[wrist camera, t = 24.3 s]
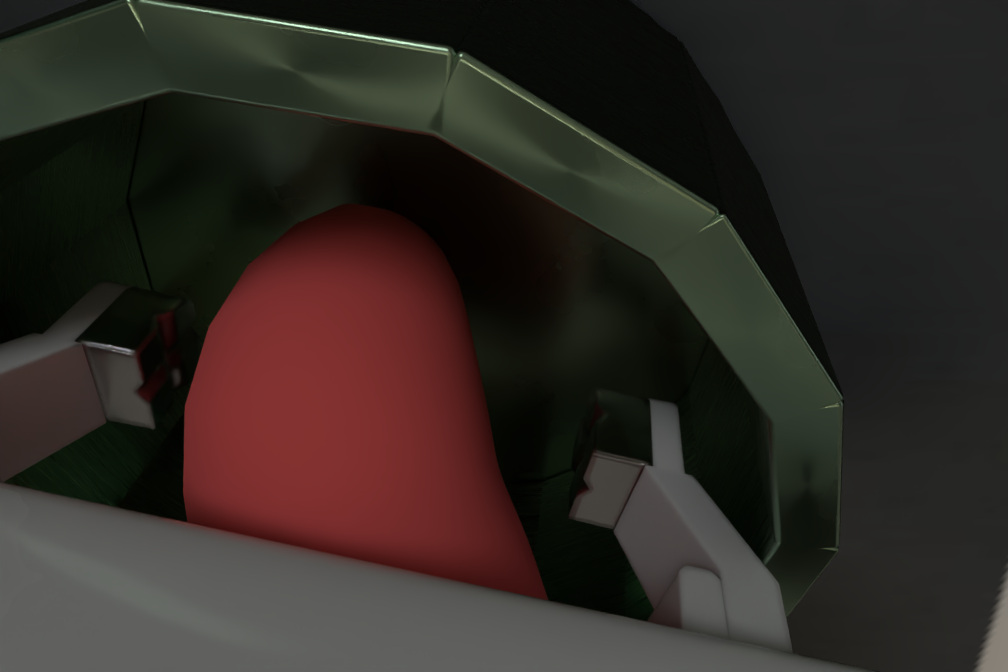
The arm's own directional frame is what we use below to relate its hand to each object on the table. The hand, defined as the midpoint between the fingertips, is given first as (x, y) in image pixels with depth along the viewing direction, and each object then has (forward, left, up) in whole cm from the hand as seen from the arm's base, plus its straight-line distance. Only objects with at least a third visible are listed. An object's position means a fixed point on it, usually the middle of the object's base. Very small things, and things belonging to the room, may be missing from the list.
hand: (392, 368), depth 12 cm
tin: (0, 0, -3) cm, 3 cm away
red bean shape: (-2, -1, 0) cm, 2 cm away
